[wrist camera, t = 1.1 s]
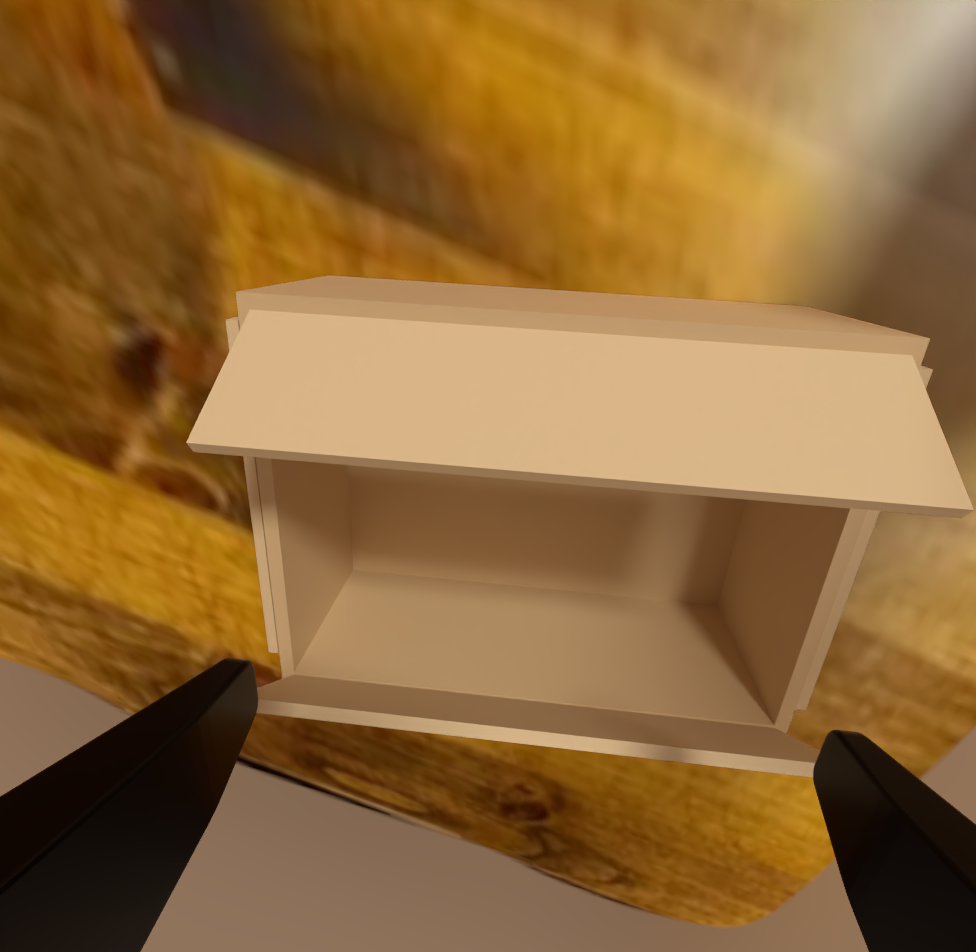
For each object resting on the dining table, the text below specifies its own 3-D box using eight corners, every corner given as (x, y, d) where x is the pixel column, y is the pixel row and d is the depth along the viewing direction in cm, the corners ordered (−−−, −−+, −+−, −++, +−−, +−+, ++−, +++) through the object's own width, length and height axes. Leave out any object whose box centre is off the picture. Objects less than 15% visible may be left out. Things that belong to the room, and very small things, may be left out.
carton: (824, 307, 17) (957, 340, 12) (737, 614, 22) (803, 742, 16) (312, 274, 18) (211, 290, 13) (333, 574, 23) (265, 681, 17)
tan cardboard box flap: (902, 365, 12) (911, 355, 11) (961, 517, 10) (973, 509, 10) (254, 319, 13) (249, 309, 12) (193, 451, 11) (186, 442, 10)
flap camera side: (294, 674, 17) (291, 684, 17) (235, 696, 13) (232, 710, 13) (775, 728, 16) (775, 739, 16) (851, 767, 12) (851, 782, 12)
